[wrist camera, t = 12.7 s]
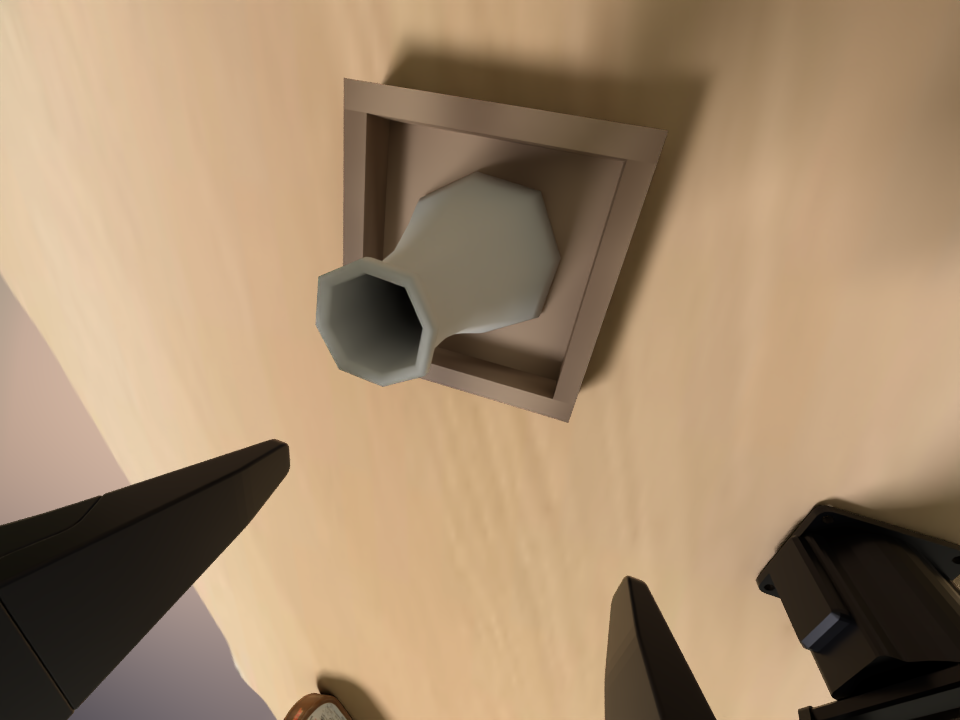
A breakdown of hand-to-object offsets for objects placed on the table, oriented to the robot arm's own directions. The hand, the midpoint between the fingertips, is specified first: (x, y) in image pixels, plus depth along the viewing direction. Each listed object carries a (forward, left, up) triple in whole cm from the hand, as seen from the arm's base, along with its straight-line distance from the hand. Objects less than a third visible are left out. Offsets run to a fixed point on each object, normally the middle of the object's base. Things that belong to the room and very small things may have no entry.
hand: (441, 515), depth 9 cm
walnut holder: (+3, -4, -12) cm, 12 cm away
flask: (+3, -4, -11) cm, 12 cm away
